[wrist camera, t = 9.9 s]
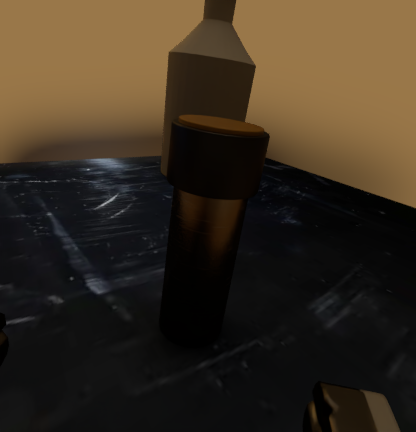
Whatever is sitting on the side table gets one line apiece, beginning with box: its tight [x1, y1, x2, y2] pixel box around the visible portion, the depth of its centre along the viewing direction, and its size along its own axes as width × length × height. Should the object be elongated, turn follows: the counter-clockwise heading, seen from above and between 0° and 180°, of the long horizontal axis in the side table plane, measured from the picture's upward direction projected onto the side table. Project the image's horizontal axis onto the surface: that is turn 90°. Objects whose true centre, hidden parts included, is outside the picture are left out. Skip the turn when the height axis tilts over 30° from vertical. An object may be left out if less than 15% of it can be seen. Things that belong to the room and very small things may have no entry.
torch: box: [159, 115, 270, 347], centre depth 17 cm, size 5×5×12 cm
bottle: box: [161, 0, 256, 177], centre depth 45 cm, size 12×12×25 cm
